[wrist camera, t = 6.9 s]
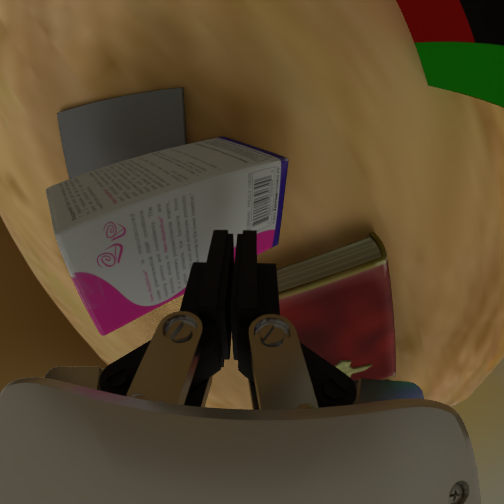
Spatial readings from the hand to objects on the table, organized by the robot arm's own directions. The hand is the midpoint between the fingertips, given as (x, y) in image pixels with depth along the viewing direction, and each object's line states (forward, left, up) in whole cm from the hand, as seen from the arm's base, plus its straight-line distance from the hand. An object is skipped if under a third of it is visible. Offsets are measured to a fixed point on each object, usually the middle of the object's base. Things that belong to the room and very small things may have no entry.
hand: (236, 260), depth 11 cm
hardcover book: (-10, +16, -10) cm, 21 cm away
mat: (+9, 0, -9) cm, 13 cm away
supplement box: (-1, 0, -7) cm, 7 cm away
